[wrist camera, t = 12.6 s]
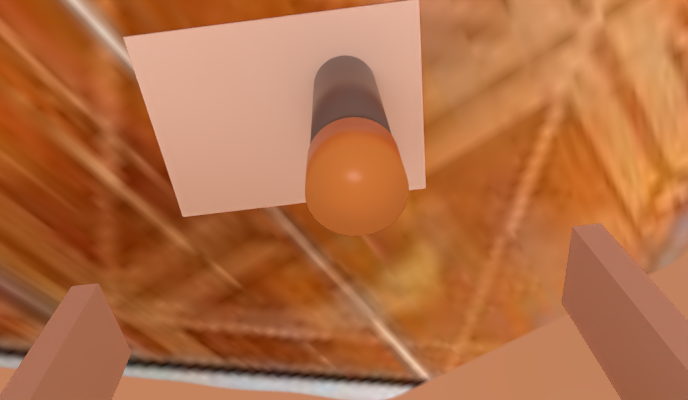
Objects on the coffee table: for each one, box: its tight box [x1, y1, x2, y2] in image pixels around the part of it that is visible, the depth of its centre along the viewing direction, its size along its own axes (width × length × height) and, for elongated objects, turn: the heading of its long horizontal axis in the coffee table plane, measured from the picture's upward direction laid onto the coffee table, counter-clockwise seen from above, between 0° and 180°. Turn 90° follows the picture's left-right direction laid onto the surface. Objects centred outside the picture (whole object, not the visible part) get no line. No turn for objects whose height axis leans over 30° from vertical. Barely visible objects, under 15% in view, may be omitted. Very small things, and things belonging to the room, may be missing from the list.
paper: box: [123, 0, 426, 217], centre depth 33 cm, size 18×13×1 cm
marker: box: [305, 55, 409, 236], centre depth 26 cm, size 4×4×14 cm
